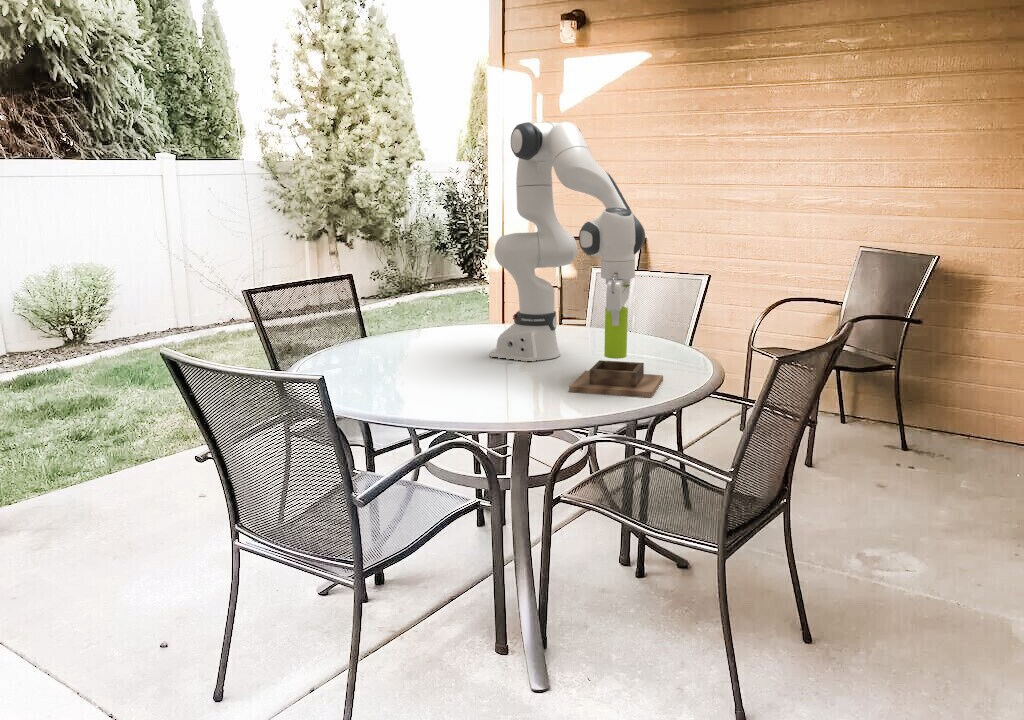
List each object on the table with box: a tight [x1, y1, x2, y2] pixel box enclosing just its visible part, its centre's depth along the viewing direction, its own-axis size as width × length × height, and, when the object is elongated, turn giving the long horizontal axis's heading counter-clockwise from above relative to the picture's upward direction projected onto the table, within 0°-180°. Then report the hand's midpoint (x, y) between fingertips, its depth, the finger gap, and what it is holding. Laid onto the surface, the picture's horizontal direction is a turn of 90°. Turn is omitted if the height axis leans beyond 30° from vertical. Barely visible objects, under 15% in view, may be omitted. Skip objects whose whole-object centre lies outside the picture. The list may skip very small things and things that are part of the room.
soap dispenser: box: [604, 284, 631, 360], centre depth 207 cm, size 6×7×20 cm
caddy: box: [568, 359, 664, 398], centre depth 210 cm, size 22×18×6 cm
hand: (617, 323), depth 207 cm, fingers closed on soap dispenser, 6 cm apart
